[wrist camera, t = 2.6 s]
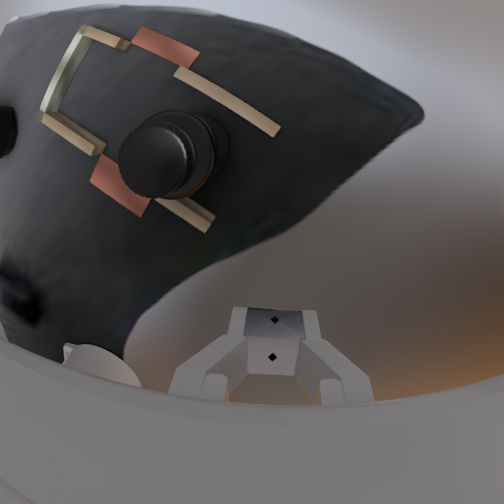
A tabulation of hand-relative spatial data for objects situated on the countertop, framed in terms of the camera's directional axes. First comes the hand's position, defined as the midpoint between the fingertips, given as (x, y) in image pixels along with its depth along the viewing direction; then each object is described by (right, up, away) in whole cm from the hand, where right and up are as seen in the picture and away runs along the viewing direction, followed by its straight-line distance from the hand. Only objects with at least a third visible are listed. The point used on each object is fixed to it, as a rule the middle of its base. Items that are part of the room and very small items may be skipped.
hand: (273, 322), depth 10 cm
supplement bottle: (-6, +13, +16) cm, 22 cm away
